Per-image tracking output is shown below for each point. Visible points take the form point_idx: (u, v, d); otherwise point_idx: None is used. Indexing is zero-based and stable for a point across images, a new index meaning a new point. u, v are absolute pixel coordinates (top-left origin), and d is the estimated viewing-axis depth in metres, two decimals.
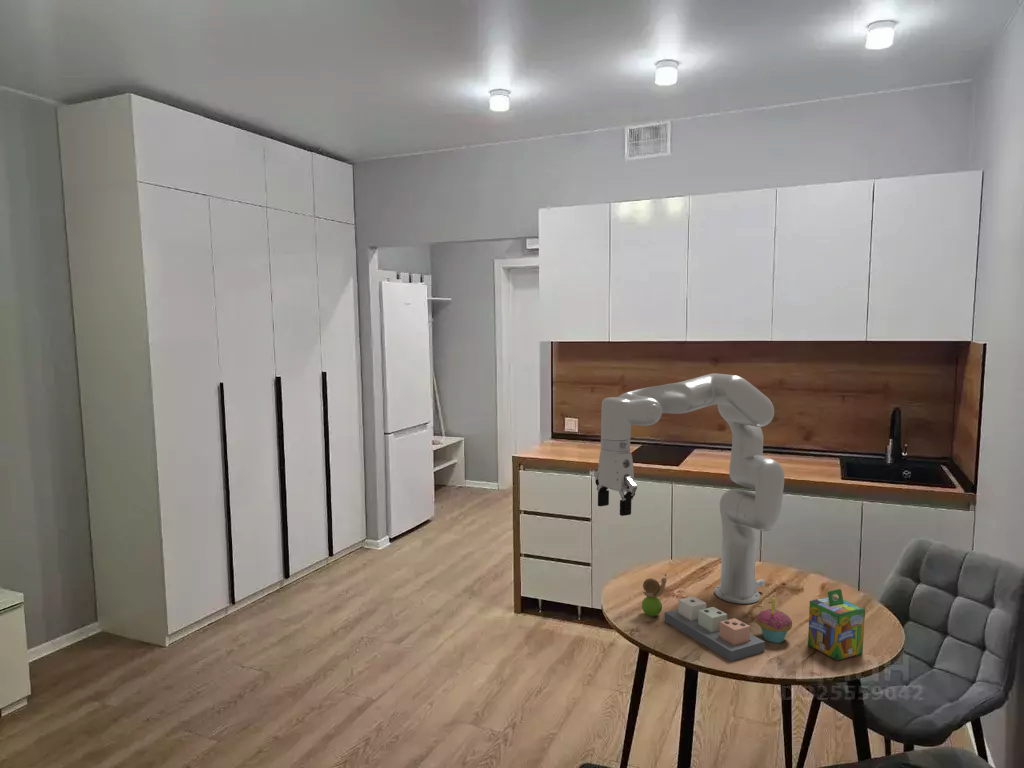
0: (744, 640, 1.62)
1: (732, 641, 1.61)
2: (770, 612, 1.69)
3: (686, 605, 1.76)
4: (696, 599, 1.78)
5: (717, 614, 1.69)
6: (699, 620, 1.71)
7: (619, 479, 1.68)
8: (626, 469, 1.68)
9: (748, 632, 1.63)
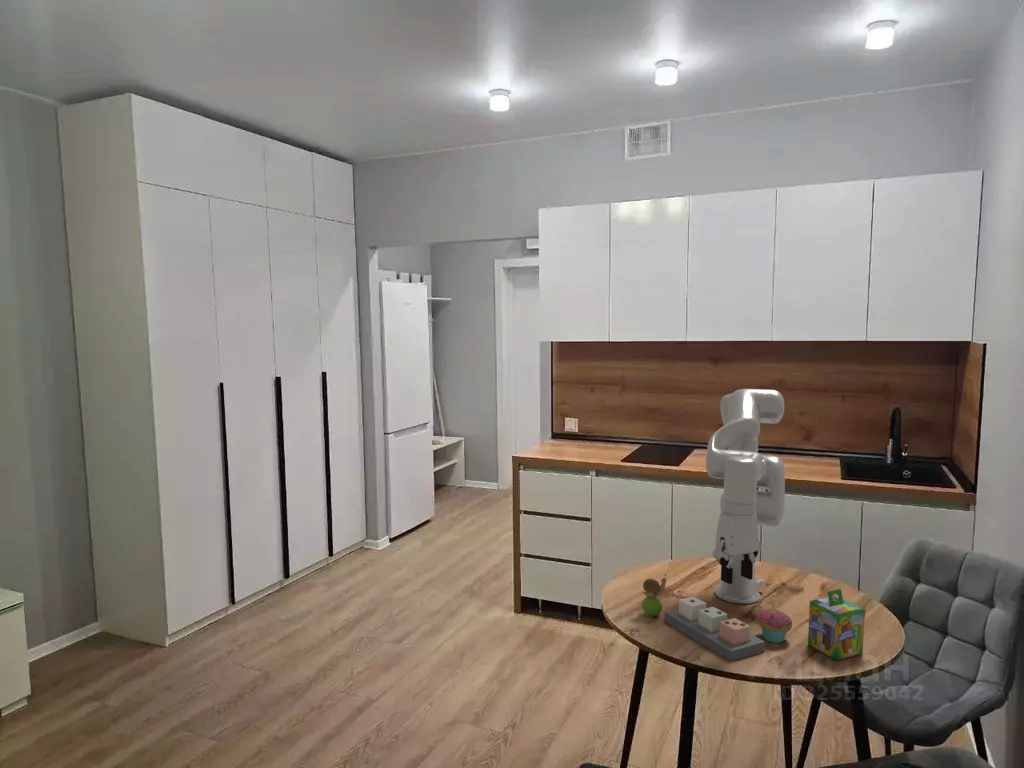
0: (744, 640, 1.62)
1: (732, 641, 1.61)
2: (770, 612, 1.69)
3: (686, 605, 1.76)
4: (696, 599, 1.78)
5: (717, 614, 1.69)
6: (699, 620, 1.71)
7: None
8: None
9: (748, 632, 1.63)
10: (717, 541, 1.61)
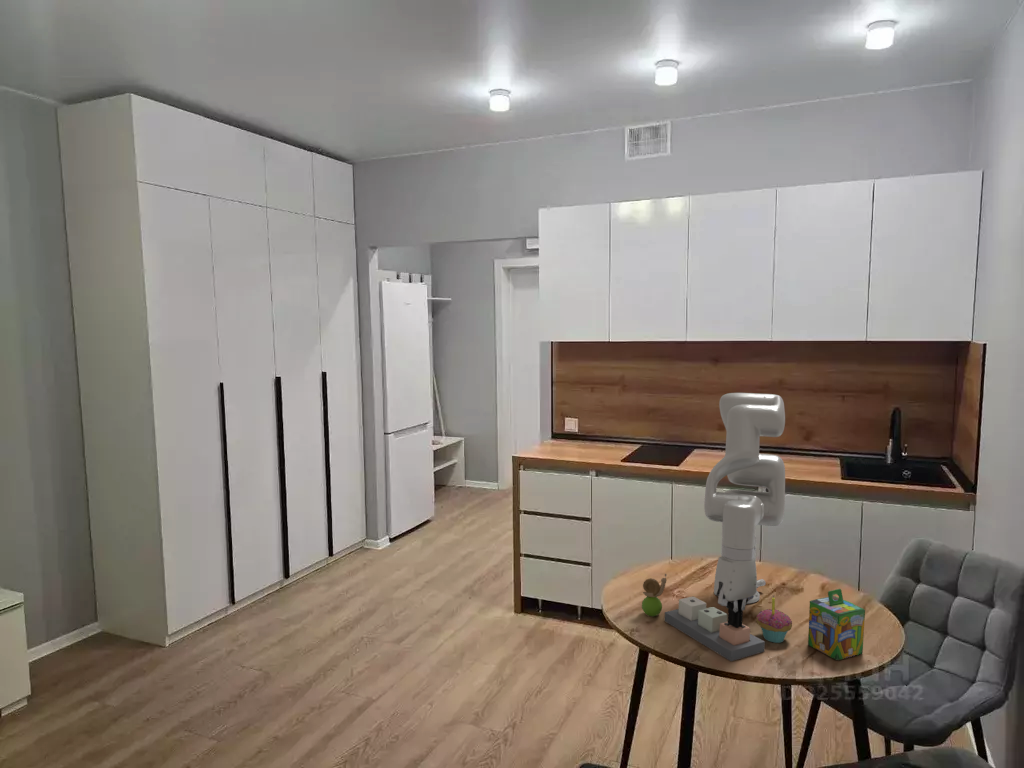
0: (744, 642, 1.62)
1: (732, 643, 1.62)
2: (770, 612, 1.69)
3: (686, 605, 1.76)
4: (696, 599, 1.78)
5: (717, 614, 1.69)
6: (699, 620, 1.71)
7: (756, 582, 1.63)
8: None
9: (748, 634, 1.63)
10: (715, 585, 1.62)
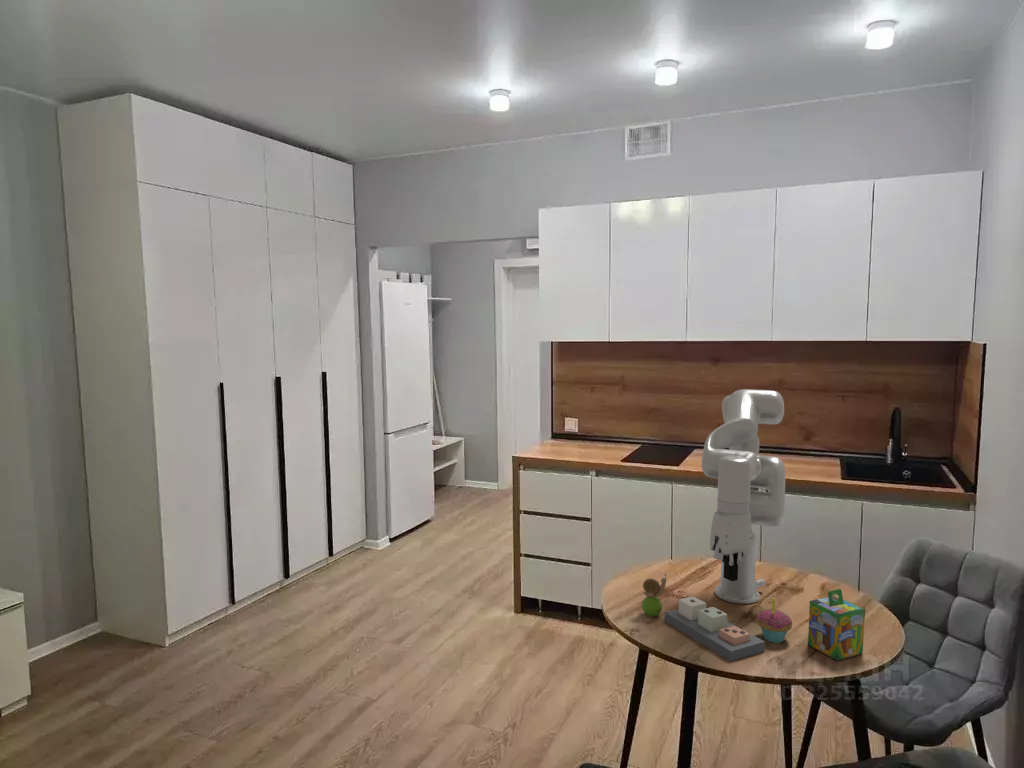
0: None
1: None
2: (770, 612, 1.69)
3: (686, 605, 1.76)
4: (696, 599, 1.78)
5: (717, 614, 1.69)
6: (699, 620, 1.71)
7: (751, 537, 1.64)
8: None
9: (747, 640, 1.63)
10: (711, 540, 1.63)
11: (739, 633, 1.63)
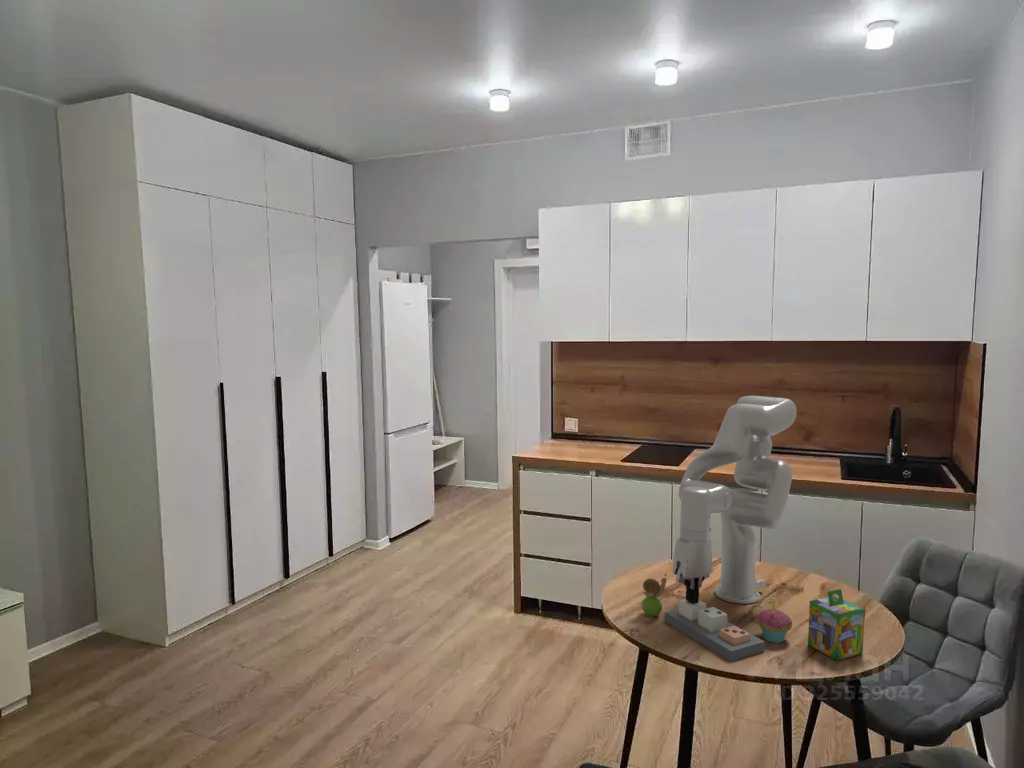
0: None
1: None
2: (770, 612, 1.69)
3: (686, 606, 1.76)
4: None
5: (717, 614, 1.69)
6: (699, 620, 1.71)
7: None
8: None
9: (747, 640, 1.63)
10: (674, 565, 1.75)
11: (739, 633, 1.63)
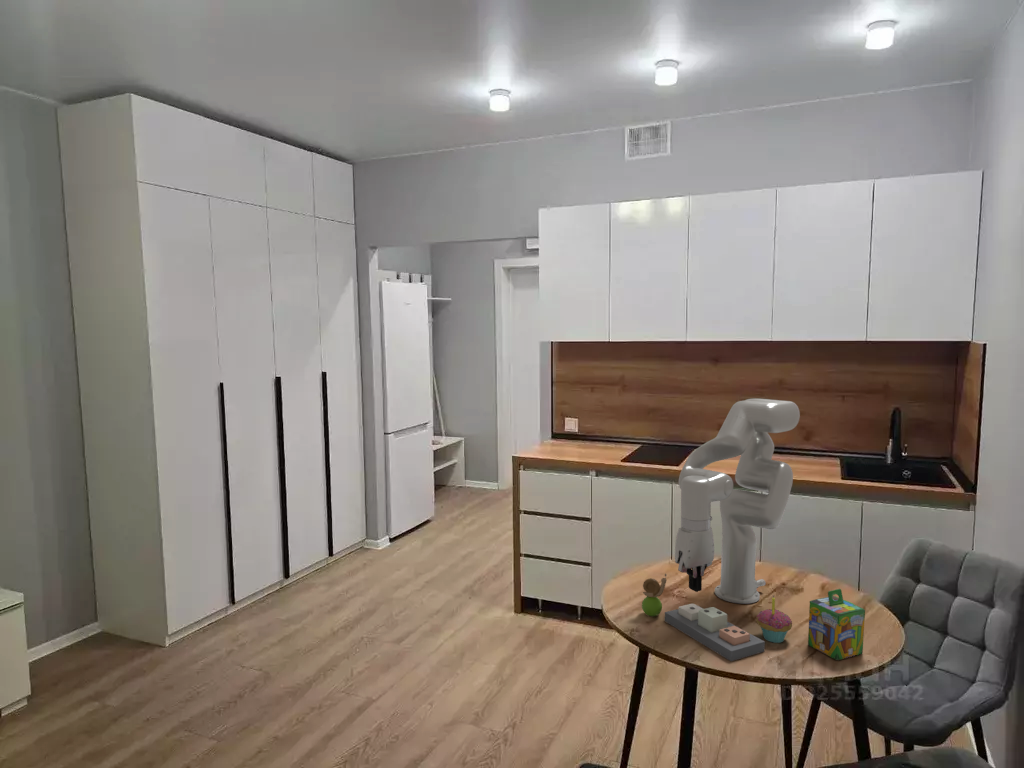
0: None
1: None
2: (770, 612, 1.69)
3: (685, 612, 1.76)
4: (696, 606, 1.79)
5: (717, 614, 1.69)
6: (699, 620, 1.71)
7: (713, 550, 1.77)
8: None
9: (747, 640, 1.63)
10: (676, 554, 1.76)
11: (739, 633, 1.63)
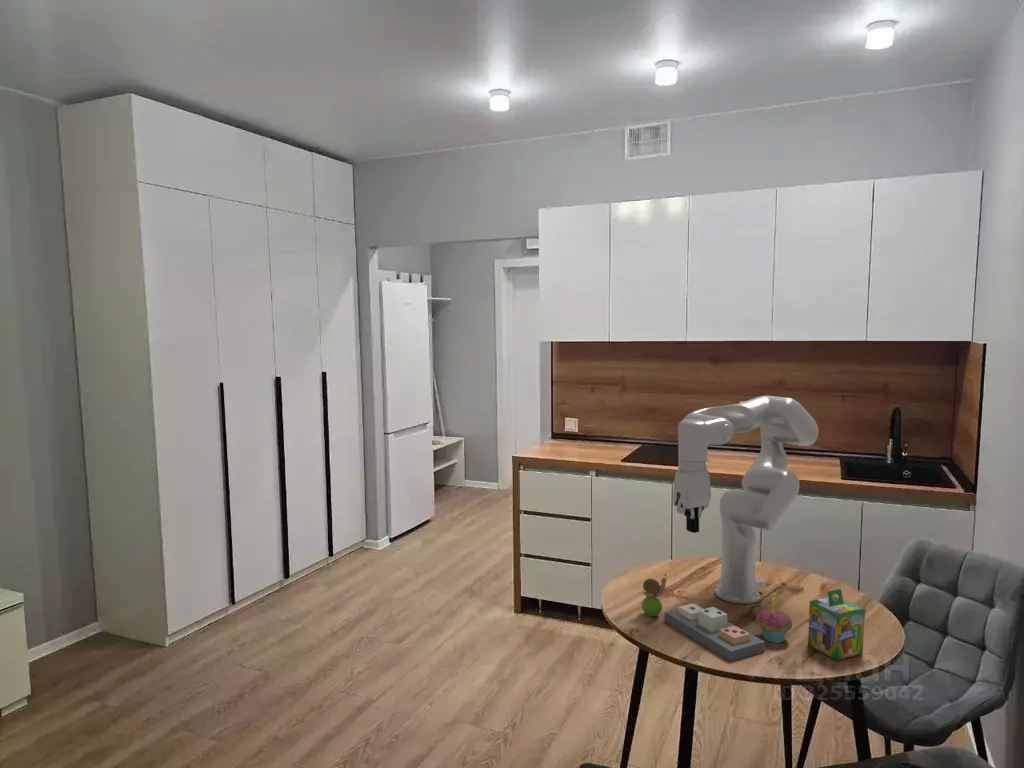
0: None
1: None
2: (770, 612, 1.69)
3: (685, 612, 1.76)
4: (696, 606, 1.79)
5: (717, 614, 1.69)
6: (699, 620, 1.71)
7: (710, 492, 1.81)
8: None
9: (747, 640, 1.63)
10: (674, 496, 1.80)
11: (739, 633, 1.63)
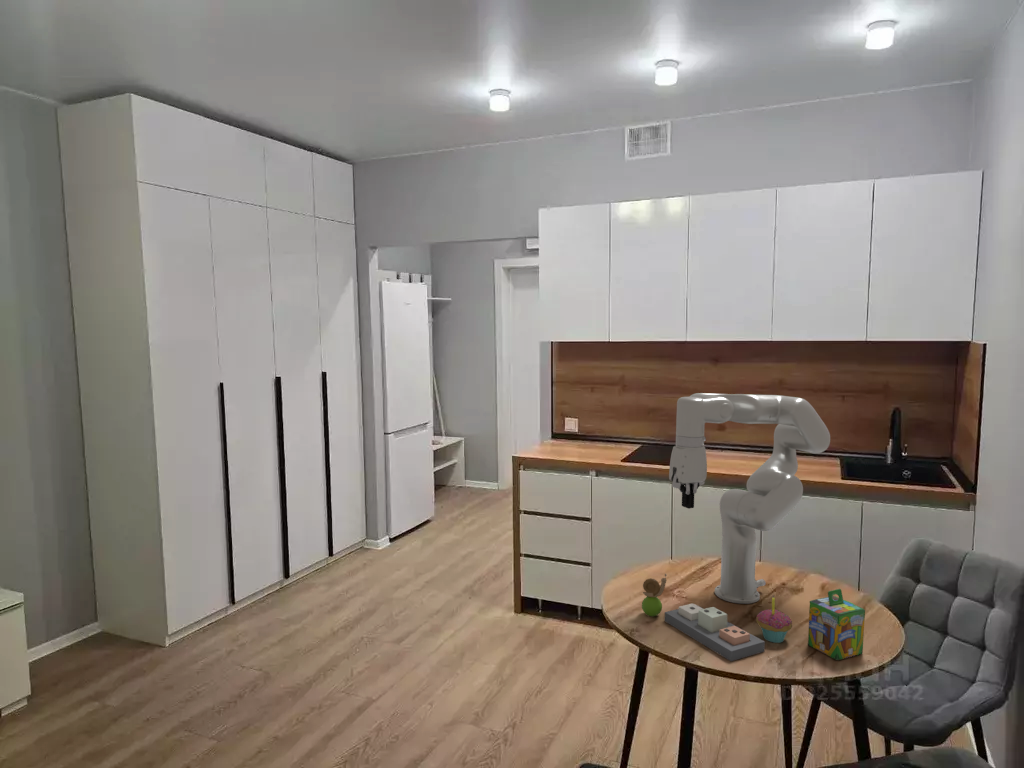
0: None
1: None
2: (770, 612, 1.69)
3: (685, 612, 1.76)
4: (696, 606, 1.79)
5: (717, 614, 1.69)
6: (699, 620, 1.71)
7: (706, 469, 1.84)
8: None
9: (747, 640, 1.63)
10: (670, 471, 1.83)
11: (739, 633, 1.63)
